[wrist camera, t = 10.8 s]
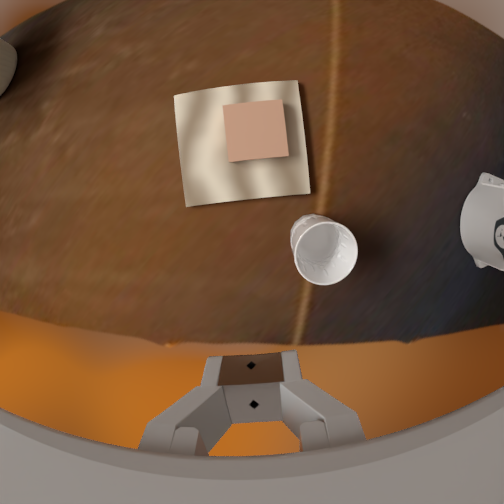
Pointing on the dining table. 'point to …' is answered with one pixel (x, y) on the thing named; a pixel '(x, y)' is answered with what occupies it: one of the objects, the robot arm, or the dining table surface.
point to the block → (255, 130)
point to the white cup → (323, 249)
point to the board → (215, 146)
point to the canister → (6, 64)
